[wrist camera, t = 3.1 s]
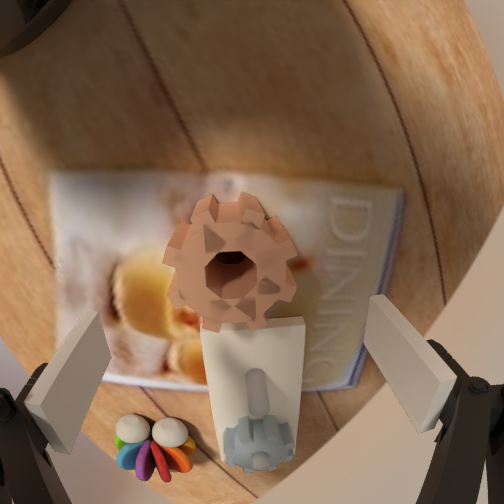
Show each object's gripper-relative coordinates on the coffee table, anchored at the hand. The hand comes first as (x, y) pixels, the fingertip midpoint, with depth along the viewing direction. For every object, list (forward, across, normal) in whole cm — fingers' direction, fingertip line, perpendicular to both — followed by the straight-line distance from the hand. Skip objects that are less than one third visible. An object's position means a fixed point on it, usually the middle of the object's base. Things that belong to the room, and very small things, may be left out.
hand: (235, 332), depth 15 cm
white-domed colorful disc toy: (+12, -11, -22) cm, 28 cm away
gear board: (+12, +1, -16) cm, 20 cm away
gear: (+12, 0, 0) cm, 12 cm away
